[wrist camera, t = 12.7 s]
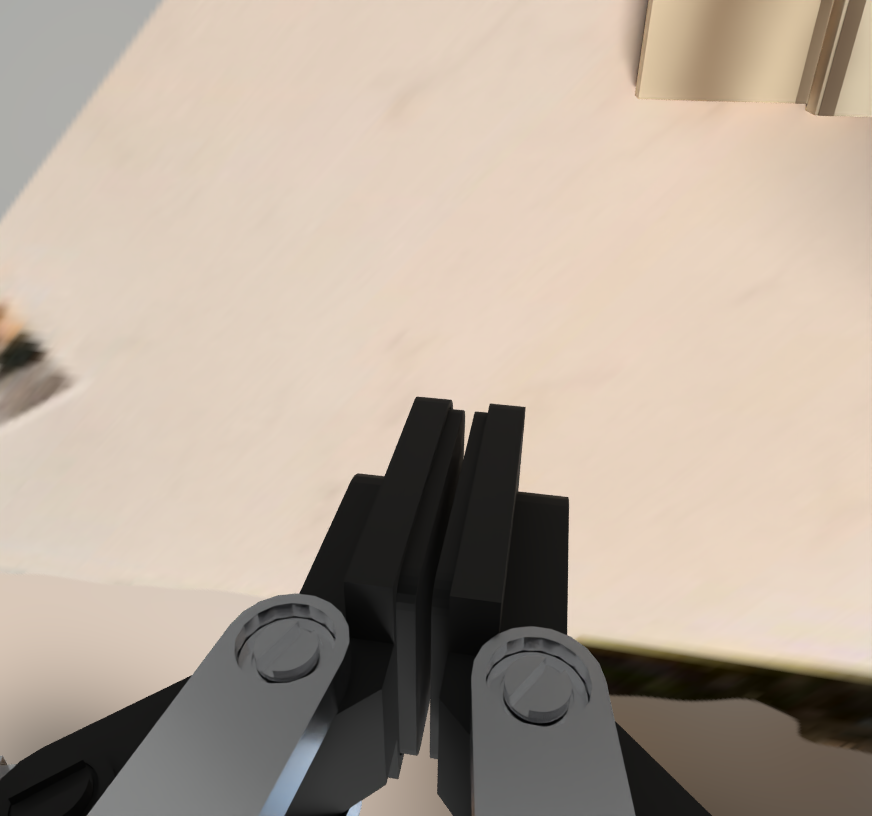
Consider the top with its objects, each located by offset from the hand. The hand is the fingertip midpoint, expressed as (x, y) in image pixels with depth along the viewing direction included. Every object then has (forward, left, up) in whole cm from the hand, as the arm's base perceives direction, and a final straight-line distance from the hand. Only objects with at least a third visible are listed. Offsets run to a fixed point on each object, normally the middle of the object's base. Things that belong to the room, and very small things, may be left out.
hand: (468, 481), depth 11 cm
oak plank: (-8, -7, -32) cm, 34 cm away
